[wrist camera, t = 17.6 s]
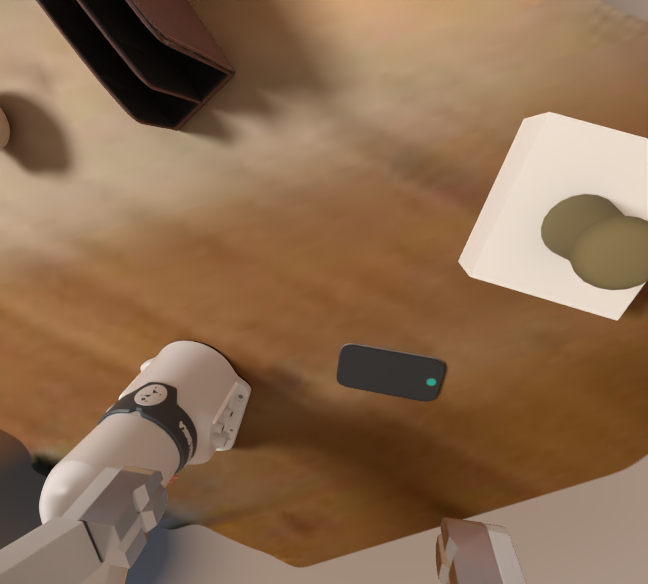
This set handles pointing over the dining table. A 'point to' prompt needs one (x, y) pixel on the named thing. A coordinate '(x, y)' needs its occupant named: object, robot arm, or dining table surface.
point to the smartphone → (390, 372)
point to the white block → (543, 194)
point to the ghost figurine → (4, 130)
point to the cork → (598, 241)
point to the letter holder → (145, 54)
